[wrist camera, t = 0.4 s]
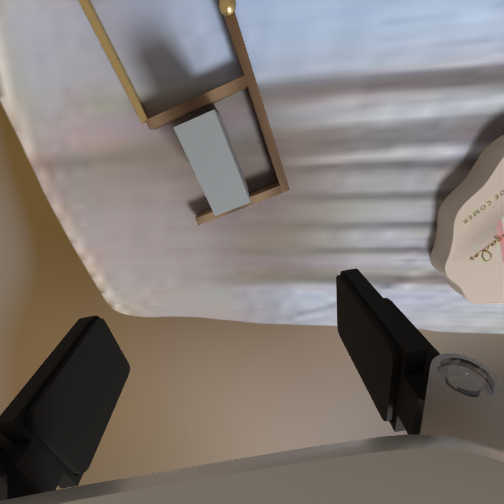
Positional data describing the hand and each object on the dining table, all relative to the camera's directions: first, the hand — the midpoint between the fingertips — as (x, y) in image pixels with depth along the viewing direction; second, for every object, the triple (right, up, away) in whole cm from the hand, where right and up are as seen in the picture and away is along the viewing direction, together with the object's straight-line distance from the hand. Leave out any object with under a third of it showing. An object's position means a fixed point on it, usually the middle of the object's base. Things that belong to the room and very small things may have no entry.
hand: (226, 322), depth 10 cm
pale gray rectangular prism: (-3, +15, +22) cm, 27 cm away
